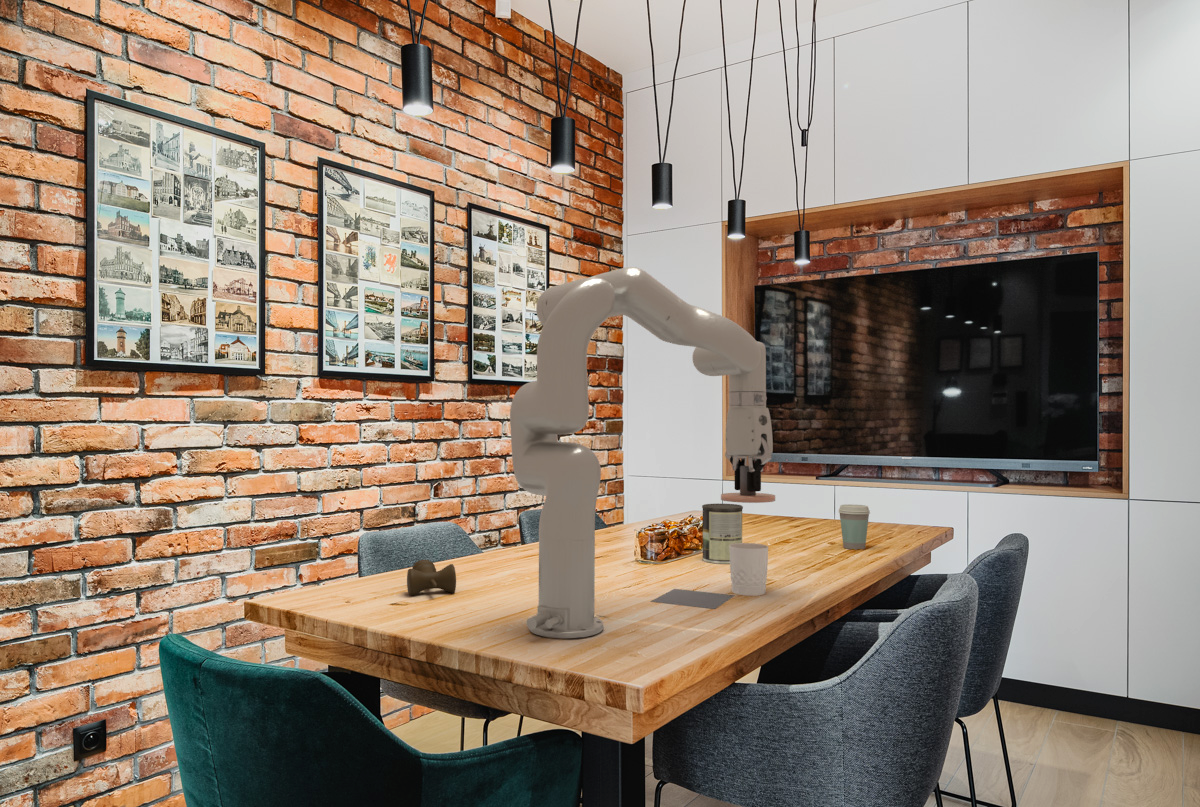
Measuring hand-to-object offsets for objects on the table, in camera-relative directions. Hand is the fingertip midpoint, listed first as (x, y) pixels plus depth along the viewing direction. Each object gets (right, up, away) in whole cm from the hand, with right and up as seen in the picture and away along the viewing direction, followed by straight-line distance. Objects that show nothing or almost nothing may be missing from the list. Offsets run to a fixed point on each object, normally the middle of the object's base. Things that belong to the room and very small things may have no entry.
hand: (747, 489), depth 160 cm
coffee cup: (+42, -24, +60) cm, 77 cm away
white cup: (0, -22, 0) cm, 22 cm away
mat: (-12, -21, -7) cm, 25 cm away
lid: (0, -2, 0) cm, 2 cm away
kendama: (-66, -22, +3) cm, 70 cm away
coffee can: (+1, -23, +39) cm, 45 cm away
